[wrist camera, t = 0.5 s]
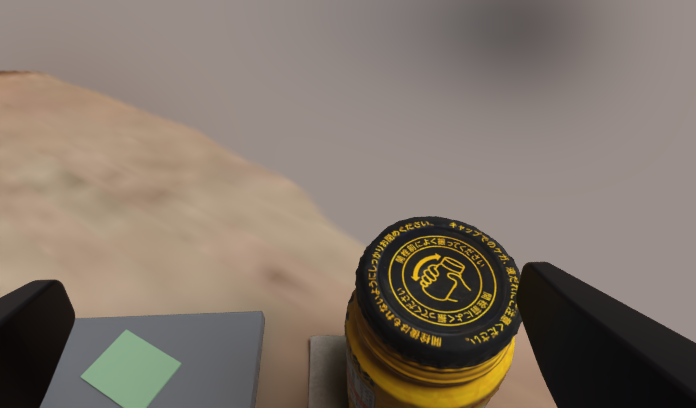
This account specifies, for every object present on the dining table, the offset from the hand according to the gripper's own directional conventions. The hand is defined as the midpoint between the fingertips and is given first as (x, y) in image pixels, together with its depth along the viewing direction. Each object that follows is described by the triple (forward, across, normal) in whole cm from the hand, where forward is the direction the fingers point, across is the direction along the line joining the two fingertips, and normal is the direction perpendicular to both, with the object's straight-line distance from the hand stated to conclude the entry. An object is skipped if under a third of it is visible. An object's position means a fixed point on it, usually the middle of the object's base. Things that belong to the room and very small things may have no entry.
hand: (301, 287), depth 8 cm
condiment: (+7, -4, +14) cm, 16 cm away
